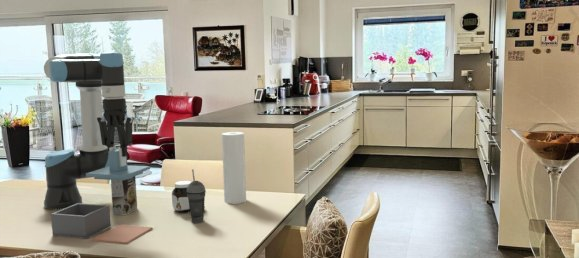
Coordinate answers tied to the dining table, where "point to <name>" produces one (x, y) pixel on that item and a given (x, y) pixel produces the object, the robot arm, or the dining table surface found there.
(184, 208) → the spread jar
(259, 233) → the dining table surface
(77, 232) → the storage box
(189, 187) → the beverage cup
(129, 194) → the coffee box
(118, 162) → the lid
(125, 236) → the rubber mat
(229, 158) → the paper towel roll
